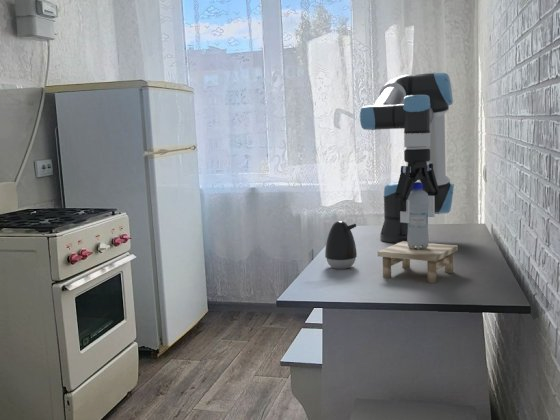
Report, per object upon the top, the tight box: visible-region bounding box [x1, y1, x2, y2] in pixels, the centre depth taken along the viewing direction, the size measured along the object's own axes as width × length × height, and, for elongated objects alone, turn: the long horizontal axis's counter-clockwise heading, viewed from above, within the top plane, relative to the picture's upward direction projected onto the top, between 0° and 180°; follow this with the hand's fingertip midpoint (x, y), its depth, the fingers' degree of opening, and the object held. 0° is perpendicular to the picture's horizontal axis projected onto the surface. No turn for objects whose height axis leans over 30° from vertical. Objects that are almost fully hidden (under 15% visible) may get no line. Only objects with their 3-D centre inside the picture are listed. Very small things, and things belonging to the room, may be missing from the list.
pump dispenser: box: [324, 220, 358, 270], centre depth 197 cm, size 10×10×15 cm
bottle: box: [407, 181, 430, 250], centre depth 182 cm, size 7×7×20 cm
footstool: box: [377, 241, 459, 284], centre depth 184 cm, size 18×18×8 cm
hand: (417, 219), depth 182 cm, fingers open, 13 cm apart
